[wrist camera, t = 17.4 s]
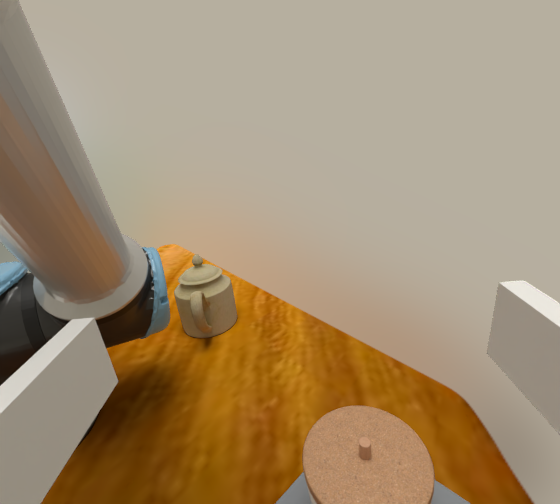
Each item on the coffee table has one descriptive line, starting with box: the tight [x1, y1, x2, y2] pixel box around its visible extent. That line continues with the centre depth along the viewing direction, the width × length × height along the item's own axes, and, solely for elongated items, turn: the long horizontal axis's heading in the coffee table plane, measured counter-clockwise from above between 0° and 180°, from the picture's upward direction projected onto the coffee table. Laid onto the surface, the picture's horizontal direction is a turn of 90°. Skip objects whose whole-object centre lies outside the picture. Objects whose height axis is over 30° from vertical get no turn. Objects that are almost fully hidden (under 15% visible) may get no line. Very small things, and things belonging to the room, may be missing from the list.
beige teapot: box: [174, 254, 237, 338], centre depth 61 cm, size 15×11×15 cm
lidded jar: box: [302, 406, 435, 504], centre depth 28 cm, size 11×11×9 cm
